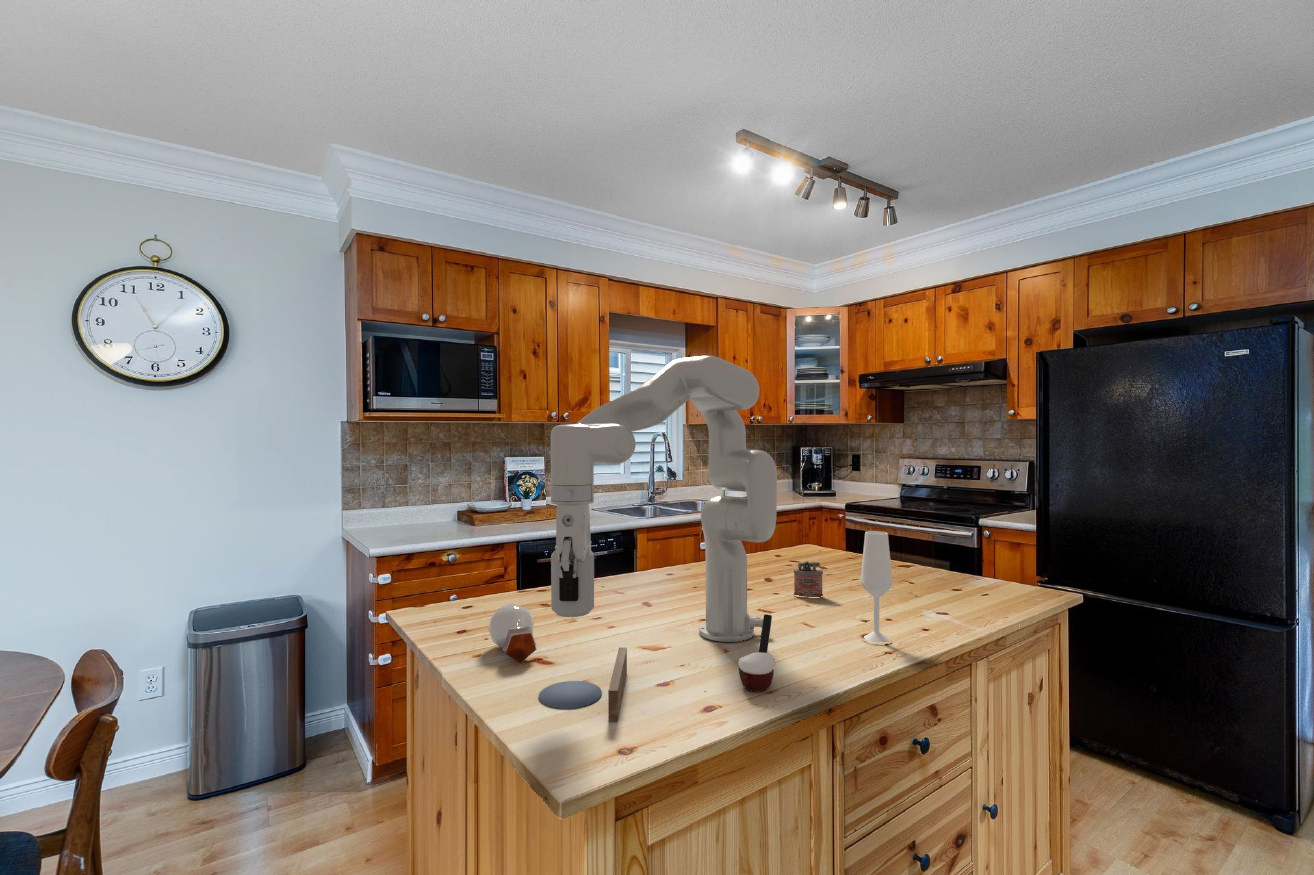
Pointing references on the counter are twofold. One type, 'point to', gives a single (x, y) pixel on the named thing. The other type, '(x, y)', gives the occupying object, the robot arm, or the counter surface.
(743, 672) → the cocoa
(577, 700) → the mat
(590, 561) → the can
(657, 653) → the counter surface
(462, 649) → the counter surface
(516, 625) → the potion bottle
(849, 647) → the counter surface
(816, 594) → the lighter
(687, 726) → the counter surface
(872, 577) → the champagne flute
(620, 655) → the low wall
